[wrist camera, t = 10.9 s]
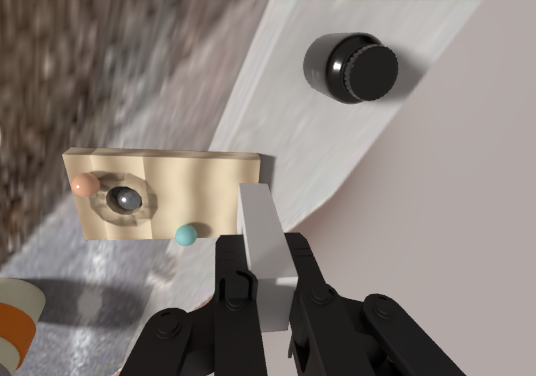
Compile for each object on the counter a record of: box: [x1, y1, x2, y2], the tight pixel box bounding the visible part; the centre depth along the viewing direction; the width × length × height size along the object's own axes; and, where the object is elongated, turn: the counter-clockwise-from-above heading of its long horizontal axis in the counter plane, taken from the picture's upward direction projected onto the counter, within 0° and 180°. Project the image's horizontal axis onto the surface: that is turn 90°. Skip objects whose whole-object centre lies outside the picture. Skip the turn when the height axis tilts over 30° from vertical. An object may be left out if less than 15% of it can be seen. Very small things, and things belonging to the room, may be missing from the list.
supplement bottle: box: [303, 32, 398, 104], centre depth 30 cm, size 7×7×12 cm
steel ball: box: [117, 187, 142, 210], centre depth 39 cm, size 3×3×3 cm
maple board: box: [62, 147, 260, 240], centre depth 40 cm, size 24×13×2 cm, turn 84°
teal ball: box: [175, 225, 197, 246], centre depth 40 cm, size 3×3×3 cm
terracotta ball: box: [71, 173, 100, 197], centre depth 34 cm, size 3×3×3 cm
